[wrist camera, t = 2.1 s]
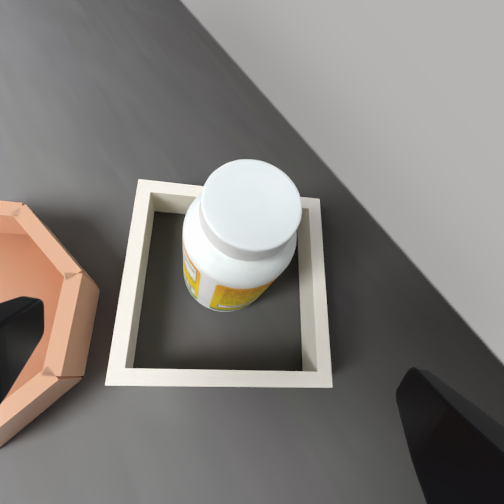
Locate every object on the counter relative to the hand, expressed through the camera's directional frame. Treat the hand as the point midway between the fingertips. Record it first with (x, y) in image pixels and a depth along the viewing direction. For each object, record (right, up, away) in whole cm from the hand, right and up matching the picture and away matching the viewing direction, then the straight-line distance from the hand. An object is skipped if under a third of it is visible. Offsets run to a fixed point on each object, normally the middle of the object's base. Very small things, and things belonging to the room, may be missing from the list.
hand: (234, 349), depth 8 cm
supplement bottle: (-1, +1, +14) cm, 14 cm away
